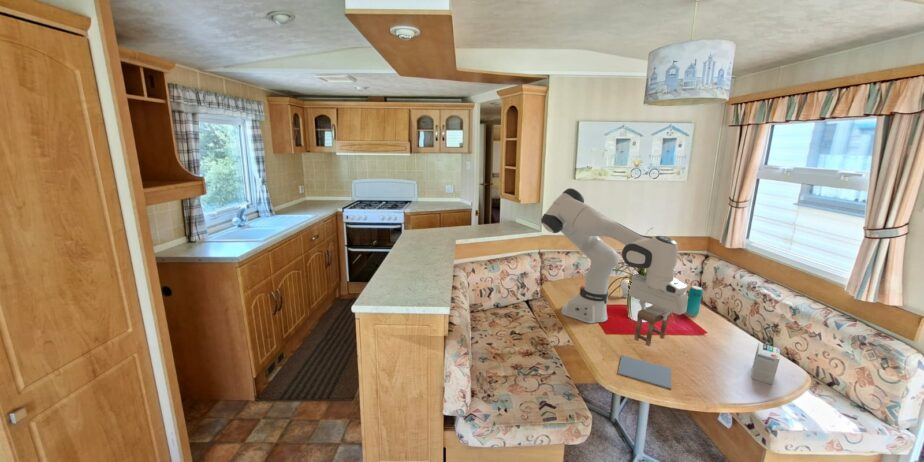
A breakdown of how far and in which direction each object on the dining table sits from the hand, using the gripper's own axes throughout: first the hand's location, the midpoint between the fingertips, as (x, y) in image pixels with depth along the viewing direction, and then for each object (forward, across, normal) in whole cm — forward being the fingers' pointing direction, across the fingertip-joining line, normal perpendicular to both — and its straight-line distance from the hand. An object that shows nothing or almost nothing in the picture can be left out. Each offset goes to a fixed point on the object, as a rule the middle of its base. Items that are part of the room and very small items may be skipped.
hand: (653, 315), depth 139 cm
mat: (+24, 0, 0) cm, 24 cm away
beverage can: (+24, -14, +70) cm, 76 cm away
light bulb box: (+24, +26, +38) cm, 52 cm away
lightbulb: (+24, -46, +59) cm, 78 cm away
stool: (+4, 0, +5) cm, 7 cm away
